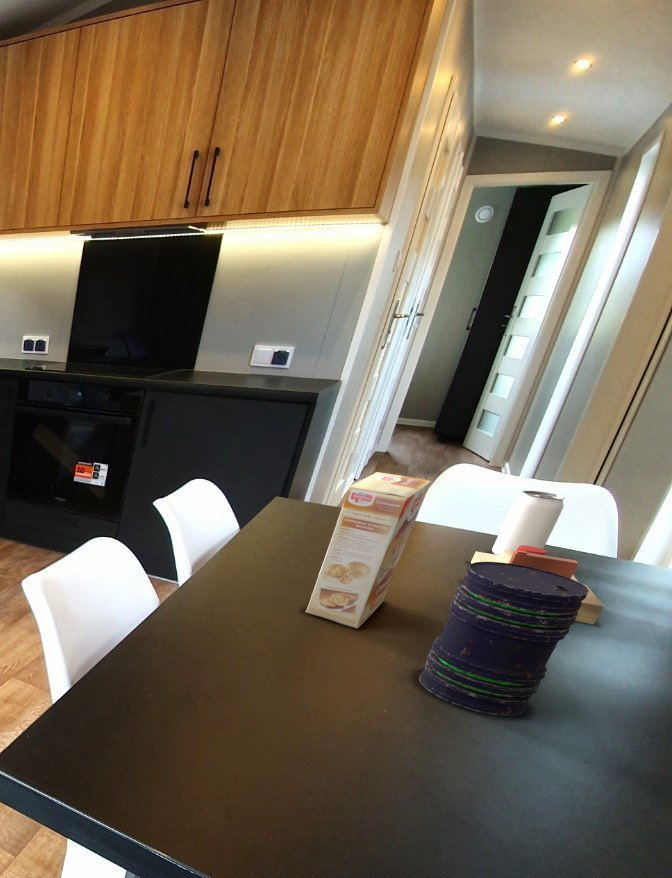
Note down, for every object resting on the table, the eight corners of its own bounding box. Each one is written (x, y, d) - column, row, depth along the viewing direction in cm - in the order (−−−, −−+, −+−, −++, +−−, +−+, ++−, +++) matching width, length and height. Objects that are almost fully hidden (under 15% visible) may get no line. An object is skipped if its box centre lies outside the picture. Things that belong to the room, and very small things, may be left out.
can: (488, 548, 124) (515, 488, 118) (533, 555, 120) (563, 494, 115) (493, 557, 119) (522, 495, 114) (540, 565, 115) (572, 501, 110)
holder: (562, 587, 98) (577, 559, 96) (564, 590, 97) (579, 561, 95) (502, 576, 102) (515, 549, 100) (503, 579, 101) (516, 551, 99)
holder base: (577, 600, 101) (586, 582, 100) (594, 626, 93) (605, 606, 91) (463, 579, 108) (470, 562, 107) (470, 601, 100) (478, 583, 99)
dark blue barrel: (399, 679, 78) (448, 567, 72) (446, 664, 82) (496, 556, 75) (497, 724, 70) (562, 602, 63) (544, 705, 73) (610, 588, 67)
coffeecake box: (358, 629, 90) (410, 496, 82) (302, 612, 95) (346, 485, 87) (385, 601, 99) (434, 479, 91) (333, 587, 104) (375, 470, 96)
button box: (561, 578, 110) (572, 556, 108) (572, 595, 103) (584, 572, 101) (470, 562, 116) (479, 542, 114) (476, 577, 110) (486, 555, 108)
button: (540, 557, 109) (545, 548, 108) (544, 563, 106) (549, 554, 105) (512, 553, 110) (516, 543, 110) (515, 559, 108) (520, 549, 107)
